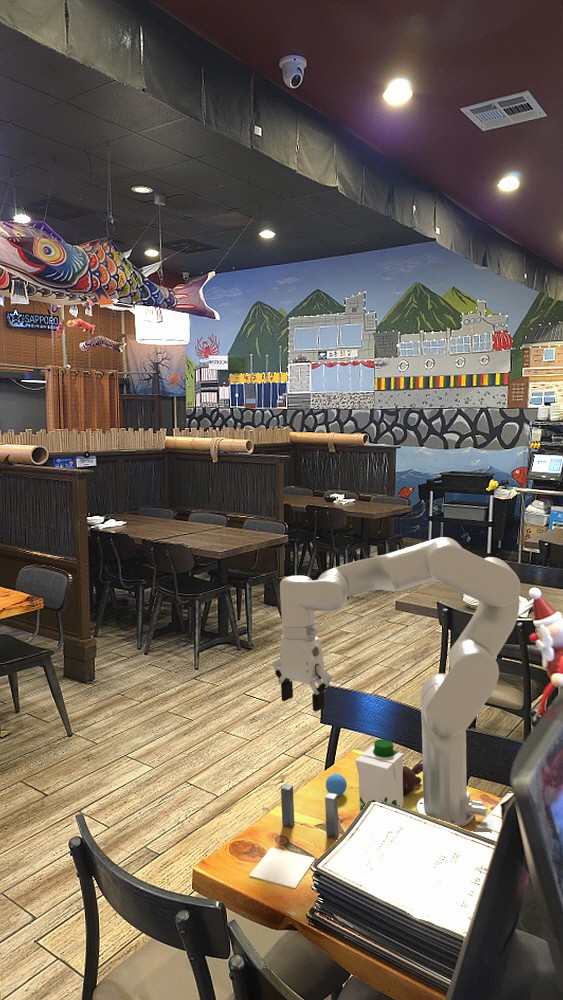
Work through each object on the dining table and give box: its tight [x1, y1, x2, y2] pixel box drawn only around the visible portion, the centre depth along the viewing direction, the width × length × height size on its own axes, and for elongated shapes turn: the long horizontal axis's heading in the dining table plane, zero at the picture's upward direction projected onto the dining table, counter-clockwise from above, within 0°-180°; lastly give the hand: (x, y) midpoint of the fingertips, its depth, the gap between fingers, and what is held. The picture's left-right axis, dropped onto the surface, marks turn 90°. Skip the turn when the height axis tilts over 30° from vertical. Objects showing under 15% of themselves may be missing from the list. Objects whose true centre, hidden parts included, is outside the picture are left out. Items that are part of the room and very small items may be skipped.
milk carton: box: [355, 738, 405, 812], centre depth 148 cm, size 9×9×20 cm
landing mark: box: [248, 847, 316, 890], centre depth 140 cm, size 10×10×1 cm
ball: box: [325, 773, 348, 797], centre depth 166 cm, size 5×5×5 cm
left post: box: [280, 783, 295, 829], centre depth 154 cm, size 2×2×9 cm
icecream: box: [403, 762, 423, 798], centre depth 166 cm, size 7×7×15 cm
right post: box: [324, 792, 340, 840], centre depth 150 cm, size 2×2×9 cm
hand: (302, 704), depth 159 cm, fingers open, 9 cm apart
